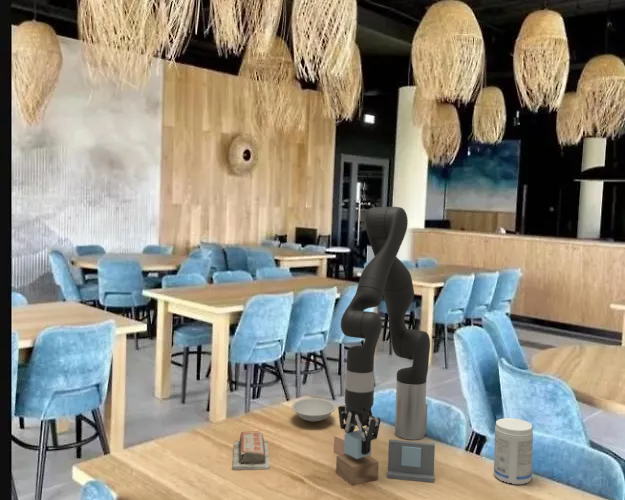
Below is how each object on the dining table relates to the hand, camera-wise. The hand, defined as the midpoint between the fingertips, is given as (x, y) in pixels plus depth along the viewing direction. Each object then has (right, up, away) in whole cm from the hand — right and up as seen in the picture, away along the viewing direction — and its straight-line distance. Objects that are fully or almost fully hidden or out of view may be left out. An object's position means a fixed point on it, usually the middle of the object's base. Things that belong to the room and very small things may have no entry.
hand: (357, 450), depth 158 cm
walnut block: (0, -7, 0) cm, 7 cm away
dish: (-12, -4, +41) cm, 43 cm away
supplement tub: (+41, -8, +2) cm, 42 cm away
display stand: (+14, -7, +2) cm, 16 cm away
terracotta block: (-2, -6, +16) cm, 17 cm away
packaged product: (-29, -6, +12) cm, 32 cm away
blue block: (0, -1, 0) cm, 1 cm away
